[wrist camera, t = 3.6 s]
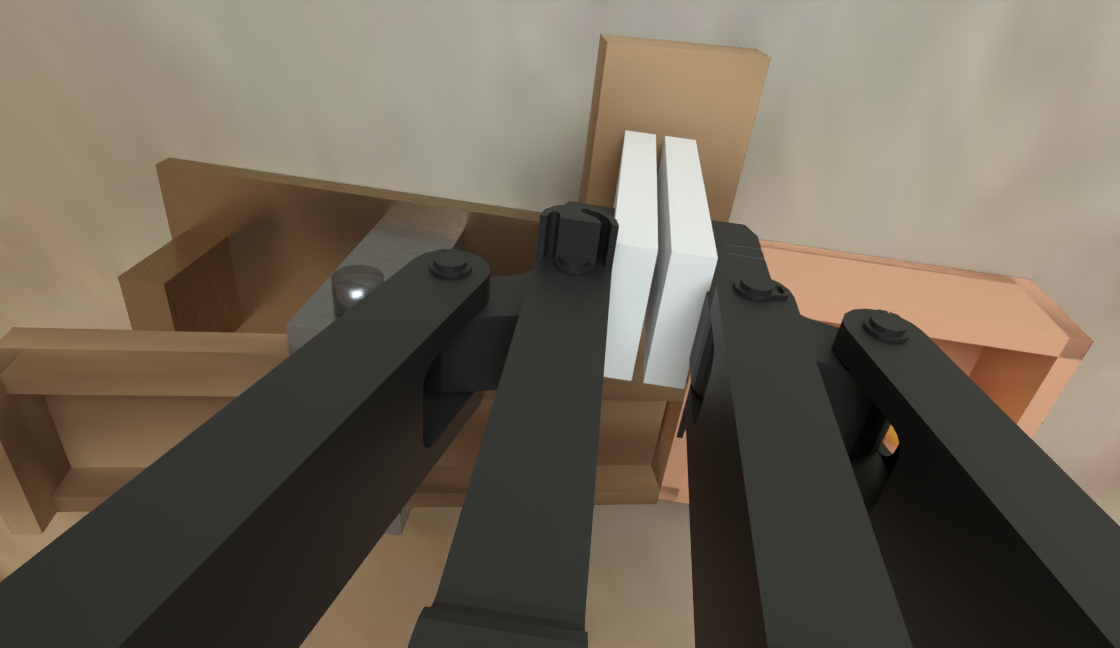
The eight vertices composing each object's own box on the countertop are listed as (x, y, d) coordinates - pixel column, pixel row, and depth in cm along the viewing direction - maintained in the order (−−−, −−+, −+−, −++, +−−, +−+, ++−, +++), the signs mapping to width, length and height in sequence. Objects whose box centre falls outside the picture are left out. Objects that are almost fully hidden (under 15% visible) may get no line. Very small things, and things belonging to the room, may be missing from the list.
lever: (655, 457, 24) (676, 522, 22) (64, 458, 21) (11, 534, 19) (756, 48, 17) (805, 76, 14) (-130, -36, 14) (-261, -19, 11)
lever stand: (655, 431, 29) (654, 599, 22) (211, 359, 30) (73, 498, 23) (703, 228, 24) (723, 361, 17) (167, 149, 25) (-28, 244, 18)
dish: (924, 473, 28) (961, 549, 25) (657, 430, 29) (658, 498, 26) (1030, 279, 23) (1093, 341, 20) (705, 231, 24) (713, 284, 21)
